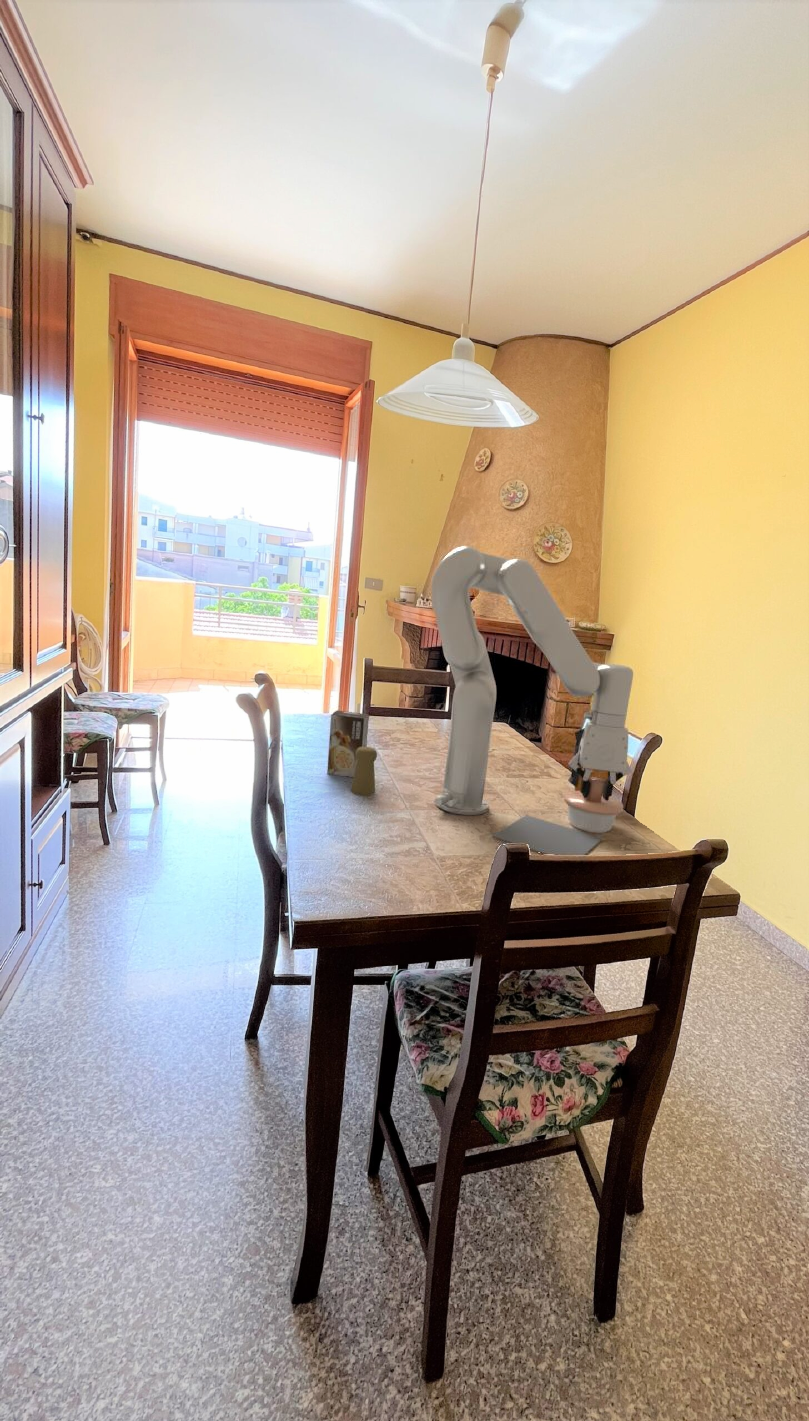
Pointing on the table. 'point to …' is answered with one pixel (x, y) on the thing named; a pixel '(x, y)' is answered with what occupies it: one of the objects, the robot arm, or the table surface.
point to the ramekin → (590, 820)
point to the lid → (594, 800)
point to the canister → (575, 777)
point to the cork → (364, 771)
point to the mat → (547, 837)
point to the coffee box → (346, 741)
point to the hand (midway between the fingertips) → (595, 796)
